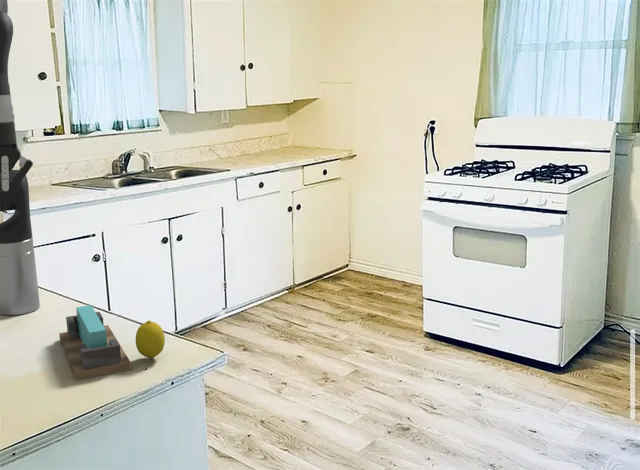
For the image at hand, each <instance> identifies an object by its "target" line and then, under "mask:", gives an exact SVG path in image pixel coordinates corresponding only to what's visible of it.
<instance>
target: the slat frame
mask: <svg viewBox="0 0 640 470" xmlns="http://www.w3.org/2000/svg"><path fill="white" fill-rule="evenodd" d="M95 312H96V314H97V316H98V317H99V319H100V321H101V323H102V324H103V326H104V328H105V329H106V337H107V346H103V347H97V348H92V349H88V348H87V346H86V344H83V342H82V340H81V338H80V336H79V331H78V321H77V314H76V315H71V316H66V317H65V320H66V322H65V323H66V329H67V330H66V331H65V332H64V331H63V332H59V334H58V335H59V341H60V344H61V345H62V348H63V350H64V354H65V356H66V358H67V362H68V365H69V366H70V369H71V371H72V374H73V376H74V379H75V381H78V380H80V381H81V380H83V379H90V378H95V377H98V376H99V377H100V376H104V375H110V374H113V373H114V374H115V373H120V372H124V371H130V370H132V366H131V364H132V363H131V361H130V359H129V358H128V356H127V354H126V352H125V351H124V349H123V348H122V345H121V344H120V342H119V341H118V339H117V337H116V335H115V334H114V332H113V331H112V330H111V328H110V326H109V325H108V324H106V325H105V324H104V318H103V315H102V314H101V312H100V311H95Z"/></svg>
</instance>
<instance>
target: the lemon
mask: <svg viewBox="0 0 640 470" xmlns="http://www.w3.org/2000/svg"><path fill="white" fill-rule="evenodd" d="M165 342H166V339H165V333H164V331H163V327H161V325H160V324H158V323H157V322H155V321H151V320H147V321H146V322H143V323H142V324H141V325H140V326H139V327H138V328H137V330H136V333H135V346H136V349H137V351H138V353H139V354H140V355H141V356H143V357H145V358H148V359H149V360H153V359H154V358H155V357H156V356H159V355H160V354H161V353H162V352H163V350H164V347H165Z"/></svg>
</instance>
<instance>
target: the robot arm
mask: <svg viewBox="0 0 640 470" xmlns="http://www.w3.org/2000/svg"><path fill="white" fill-rule="evenodd" d="M8 7H9V6H8V0H0V212H6V211H7V212H8V211H14V213H13V214H12V215H11V216H10V217H9V218H8V219H6V220H4V221H2V222H0V315H5V316H16V315H17V316H18V315H23V314H28V313H33V312H35V311H37V310H38V309H40V306H41V304H40V303H41V302H40V294H39V293H40V292H39V284H38V283H39V282H38V274H37V266H36V264H37V263H36V256H35V255H36V254H35V248H34V239H33V238H34V237H33V230H32V221H31V211H30V209H31V208H30V206H31V205H30V189H29V182H28V178H27V174H28V173H29V171H30V170H31V169H32V167H33V165H34V163H33V161H32V160H31V159H30V158H29V159H28V158H26V157H24V156H23V155H22V153H21V151H20V149H19V147H18V142H17V133H16V123H15V114H14V108H13V102H12V97H11V89H10V83H9V73H8V72H9V70H8V69H9V68H8V67H9V57H10V52H11V48H12V47H11V45H12V42H13V36H14V24H13V21H12V19H11V17H10V16H9V14H8V11H9V8H8ZM18 161H19V162H18ZM17 163H18V166H19V169H14V167H15V166H16V164H17Z"/></svg>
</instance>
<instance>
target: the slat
mask: <svg viewBox="0 0 640 470" xmlns="http://www.w3.org/2000/svg"><path fill="white" fill-rule="evenodd" d="M75 308H76V315H77V321H78V331H79V336H80V338H81V340H82V342H83V344H86V346H87V348H88V349H92V348H97V347H103V346H107V337H106V329H105V328H104V326H105V325H104V326H103V324H104V323H103V324H102V323H101V321H100V319H99V317H98V316H97V314H96V312H97V311H95V309H94V307H93V305H92V304H89V305H82V306H78V307H77V306H76V307H75Z"/></svg>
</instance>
